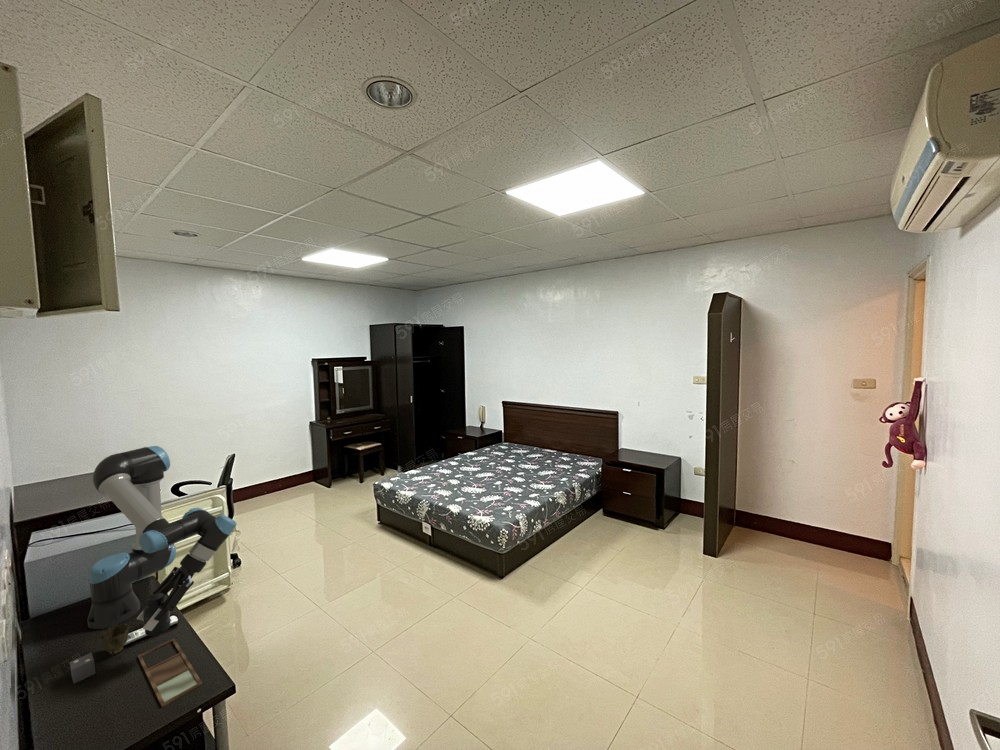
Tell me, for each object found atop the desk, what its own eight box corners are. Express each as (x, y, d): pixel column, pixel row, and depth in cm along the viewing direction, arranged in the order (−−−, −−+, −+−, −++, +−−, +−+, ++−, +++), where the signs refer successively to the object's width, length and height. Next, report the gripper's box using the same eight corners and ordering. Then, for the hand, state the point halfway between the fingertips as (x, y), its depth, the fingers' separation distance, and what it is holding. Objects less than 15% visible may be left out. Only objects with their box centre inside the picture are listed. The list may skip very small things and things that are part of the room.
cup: (112, 661, 138) (110, 640, 138) (95, 658, 140) (93, 636, 139) (136, 645, 146) (134, 624, 145) (119, 642, 147) (117, 621, 146)
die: (71, 676, 133) (69, 661, 132) (92, 666, 137) (91, 652, 136) (73, 684, 130) (71, 669, 129) (95, 673, 134) (93, 659, 133)
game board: (137, 657, 140) (137, 655, 140) (174, 639, 148) (174, 638, 148) (161, 707, 121) (161, 705, 121) (202, 684, 129) (202, 682, 129)
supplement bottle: (175, 626, 142) (172, 594, 140) (151, 639, 135) (148, 606, 134) (164, 619, 144) (161, 588, 143) (140, 632, 138) (137, 600, 137)
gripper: (217, 570, 145) (163, 640, 133) (197, 552, 156) (146, 615, 145) (198, 563, 140) (141, 635, 128) (179, 545, 151) (124, 609, 140)
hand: (143, 624), depth 137 cm, fingers closed on supplement bottle, 7 cm apart
